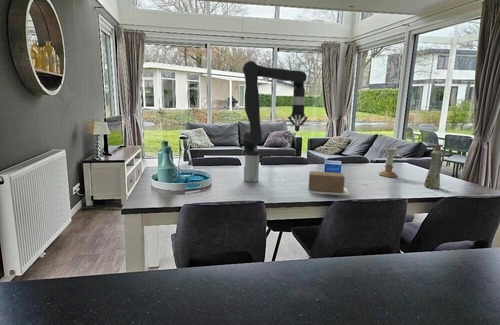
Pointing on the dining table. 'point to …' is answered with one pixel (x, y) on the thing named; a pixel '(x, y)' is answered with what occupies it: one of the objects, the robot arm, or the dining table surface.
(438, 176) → the bottle
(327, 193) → the mat
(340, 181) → the block
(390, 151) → the candle holder
